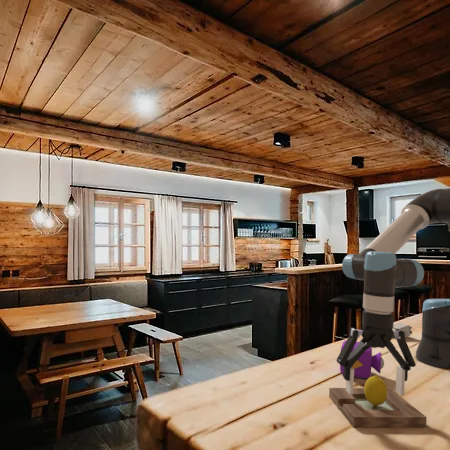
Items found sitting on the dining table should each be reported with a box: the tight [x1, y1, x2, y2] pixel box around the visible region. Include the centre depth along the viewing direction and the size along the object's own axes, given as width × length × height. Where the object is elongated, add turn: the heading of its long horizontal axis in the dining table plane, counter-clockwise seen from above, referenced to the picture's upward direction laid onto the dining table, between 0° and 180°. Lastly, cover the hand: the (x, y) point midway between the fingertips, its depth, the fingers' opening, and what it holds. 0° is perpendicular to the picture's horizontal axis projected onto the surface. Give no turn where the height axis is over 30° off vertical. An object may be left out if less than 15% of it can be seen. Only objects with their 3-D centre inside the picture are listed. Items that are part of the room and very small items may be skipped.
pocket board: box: [328, 387, 427, 429], centre depth 96 cm, size 18×16×2 cm
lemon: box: [363, 374, 388, 407], centre depth 96 cm, size 6×6×8 cm
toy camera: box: [339, 340, 385, 380], centre depth 122 cm, size 11×14×10 cm
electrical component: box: [392, 322, 413, 339], centre depth 166 cm, size 24×6×5 cm, turn 112°
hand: (374, 392), depth 96 cm, fingers open, 13 cm apart
